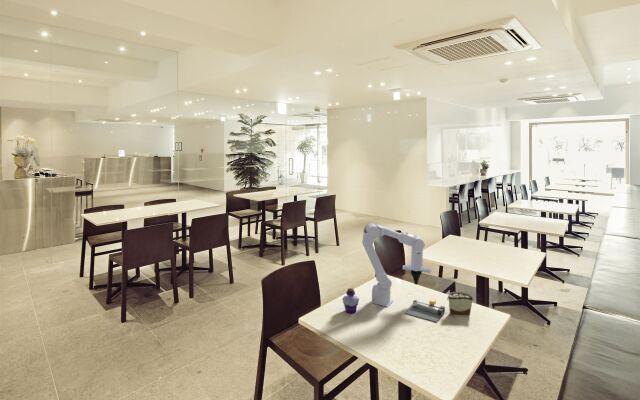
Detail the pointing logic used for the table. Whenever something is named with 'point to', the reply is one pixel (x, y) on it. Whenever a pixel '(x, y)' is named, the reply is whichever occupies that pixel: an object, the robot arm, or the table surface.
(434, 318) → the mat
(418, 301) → the tongs fixed
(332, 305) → the table surface
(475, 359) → the table surface
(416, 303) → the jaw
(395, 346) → the table surface
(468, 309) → the food container
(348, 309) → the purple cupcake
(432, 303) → the collar
